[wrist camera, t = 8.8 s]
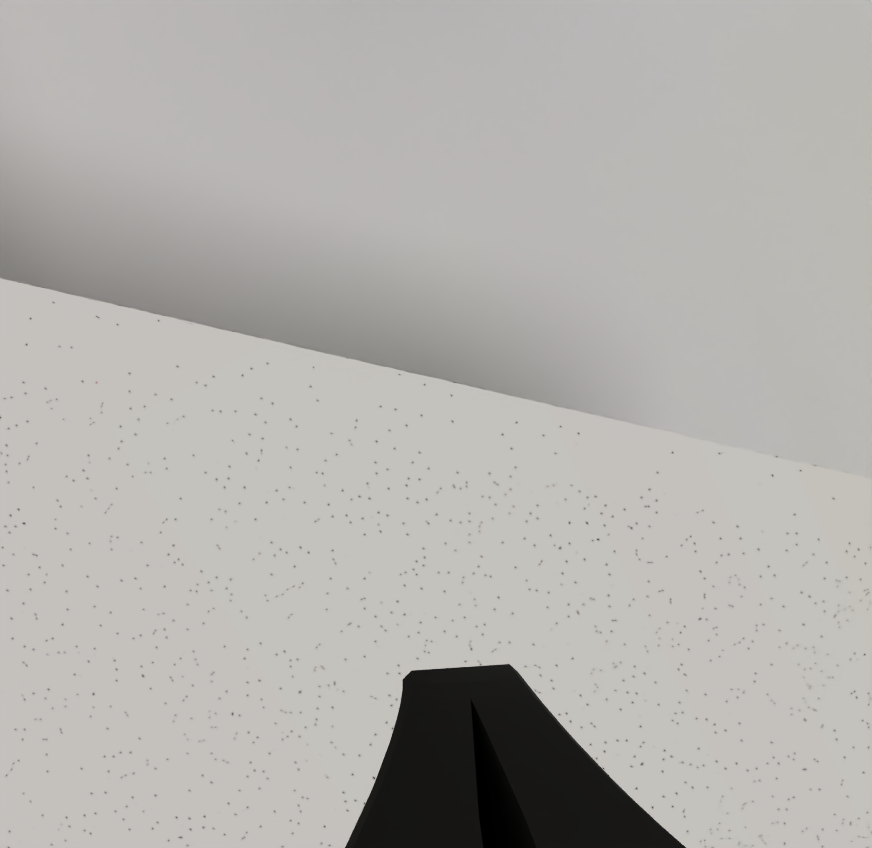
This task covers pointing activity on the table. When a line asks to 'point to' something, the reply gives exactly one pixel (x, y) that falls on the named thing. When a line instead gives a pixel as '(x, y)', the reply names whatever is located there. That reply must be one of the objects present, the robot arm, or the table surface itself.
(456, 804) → the robot arm
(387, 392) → the table surface
